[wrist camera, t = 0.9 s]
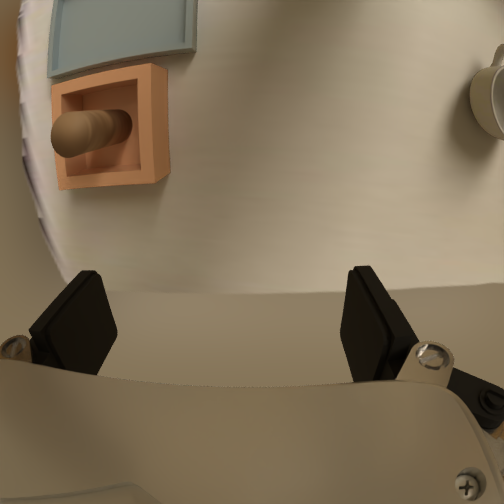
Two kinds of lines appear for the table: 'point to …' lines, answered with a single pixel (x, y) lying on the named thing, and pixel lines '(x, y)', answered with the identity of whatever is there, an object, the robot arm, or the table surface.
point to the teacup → (490, 96)
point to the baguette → (89, 131)
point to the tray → (117, 32)
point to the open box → (143, 131)
